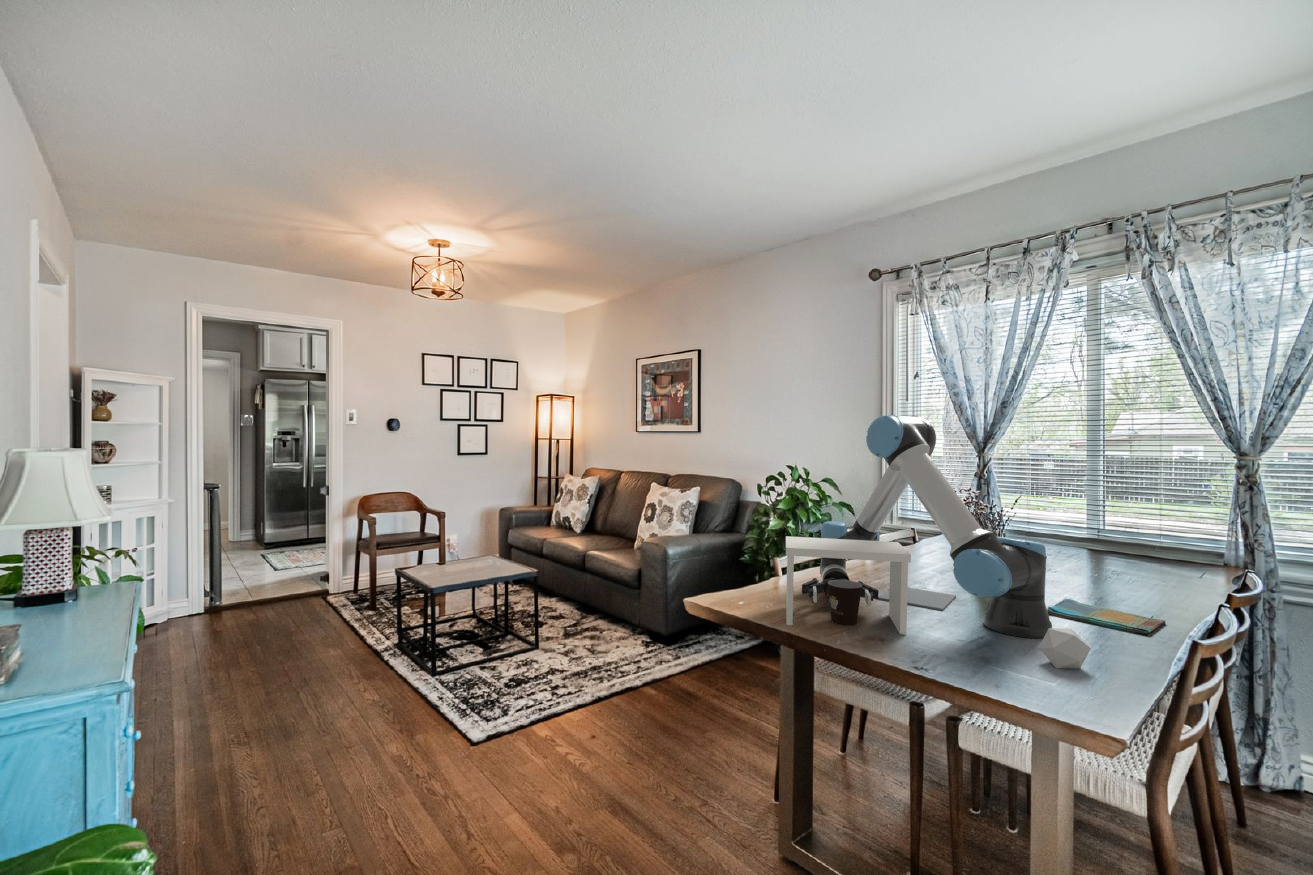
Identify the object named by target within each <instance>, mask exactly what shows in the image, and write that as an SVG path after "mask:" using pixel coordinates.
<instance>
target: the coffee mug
mask: <svg viewBox="0 0 1313 875" xmlns="http://www.w3.org/2000/svg"><path fill="white" fill-rule="evenodd" d="M827 585H828V590H829V593H826V586H827ZM823 589H824V592H823V594H824V595H825V597H826V599H827V600H828V602H829V609H830V610H829V611H830V620H831V623H833V624H836V625H839V626H845V627H850V626H851V627H852V626H856V625H857V624H858V616H859V609H860V604H861V603H860V602H861V598H862V597H861V590H862V585H861V584H860V583H858V581H857V582H856V581H853V580H850V581H848V580H831V581H828V583H826V584H824V588H823Z"/></svg>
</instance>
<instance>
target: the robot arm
mask: <svg viewBox="0 0 1313 875" xmlns="http://www.w3.org/2000/svg"><path fill="white" fill-rule="evenodd" d="M866 432H867V433H866V434H867V435H866V437H865V440H866V442H865V443H866V446H867V448H868V450H869V452H870V453H871V454H872V455H873V456H876V457H877V458H880V459H881V458H882V459H883V460H885V462H886V464H887V465H888V467H887V468H886V470H885V472H884V473H883V475H882V477H881V478H880V480H879V482H878V483H877V485H876V487H875V489H874V490H873V491H872V493H871V495H870V497H869V498H868V501H867V502H866V504H865V505H864V507H863V509H862V510H861V512H860V514H859V515H858V517H857V519H856V520H855V522H854V523H853V525H852V526H847V523H845V522H842V521H837V520H836V521H834V520H833V521H830V520H829V521H827V520H826V521H824V522H823V523H822V526H821V535H820V536H821V537H820V538H829V539H848V540H867V541H880V537H881V536H880V529H881V528H882V527H883V525H884V523H885V522H886V520H887V519H888V517H889V515H890V514H891V513H892V512H893V509H894V508H895V506H896V504H897V503H898V502H899V501H900V498H901V496H902V495H903V493H905V490H907V487H908V486H909V487H910V488H911V490H912V491H913V493H914V494H915V495H916V497H917V498H918V500H919V501H920V503H921V505H922V506H923V507H924V509H925V510H926V512H927V513H928V515H929V516H930V517H931V519H932V520H933V522H934V523H935V525H936V526H937V528H938V529H939V531H940V532H941V534H942V535H943V537H944V538H945V539H946V541H947V543H948V544H949V545H950V551H949V556H950V558H951V560H952V561H953V564H952V566H953V570H952V574H953V575H954V576H953V577H954V578H955V580H956V582H957V584H958V585H959V586H960V587H961V588H962V589H963V590H964V591H965V592H967V593H968V594H971V596H975V597H979V598H990V600H989V601H988V605H987V607H986V611H985V612H984V614H983V624H984V626H985V627H986V628H989V630H993V631H995V632H998V633H1001V634H1005V635H1009V636H1015V637H1021V638H1030V639H1042V638H1044V636H1045V635H1046V633H1047V631H1048V629H1049V628H1053V623H1052V621H1051V619H1050V615H1048V612H1047V608H1048V607H1047V605H1046V602H1045V600H1046V573H1047V572H1046V571H1047V570H1046V569H1047V567H1046V566H1047V558H1048V557H1047V551H1046V550H1047V548H1046V546H1045V545H1044V544H1043V543H1042V542H1038V541H1032V540H1027V539H1019V538H1013V537H1007V536H1006V537H1004V536H996V534H995V533H994V532H993V531H991V530H985V529H983V528H982V526H981V525H980V524H979V523H978V521H977V519H976V518H975V517H974V516H973V514H972V513H971V512H970V510H969V508H968V507H967V506H966V504H965V503H964V502H963V500H962V499H961V497H960V496H959V495H958V494H957V492H956V491H955V490H954V489H955V488H953V487H952V485H951V484H950V483H949V481H948V480H947V478H946V477H945V476H944V475H943V473H942V471H941V470H940V469H939V467H938V466H937V465H936V463H935V462H934V460H933V459H932V457H931V456H932V454H933V452H934V450H935V446H936V443H937V432H936V430H935V428H934V426H933V425H932V423H931V422H930V421H929V420H927V419H925V418H923V417H921V416H917V415H916V416H915V415H912V416H911V415H896V414H888V415H881V416H879V417H876V418H875V419H874V420H873V421H872V422H871V424H870V425H869V427H868V428H867V430H866ZM819 574H820V577H821V580H819V579H818V578H817V577H813V578H812V580H809V581H806V582H804V583H803V584H801V594H802V595H806V594H808V596H807V597H808V598H810V599H811V598H813V599H812V600H813V603H815V604H817V603H818V594H822V593H823V594H824V589H823V588H824V584H826V583H828V581H831V580H848V581H851V580H850V578H849V575H848V573H847V559H839V558H822V557H820V565H819ZM857 582H858V583H860V584H861V585H862V590H861V597H860V598H864V602H865V604H866V606H867V607H872V602H874V599H875V600H879V599H878V597H879V589H877V588H875V587H873V586H871V585H868V584H866V583H863V581H860V580H859V581H857ZM826 593H827V594H829V590H828V585H827V586H826Z"/></svg>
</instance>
